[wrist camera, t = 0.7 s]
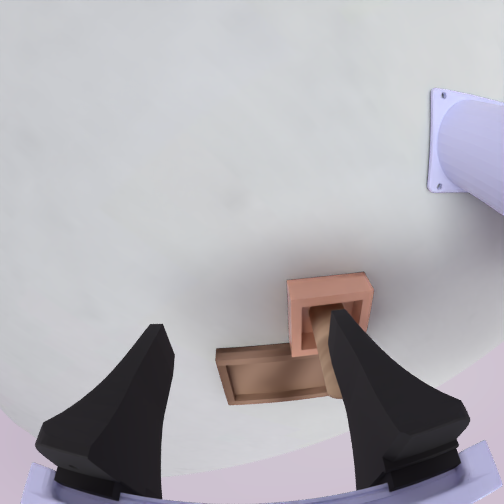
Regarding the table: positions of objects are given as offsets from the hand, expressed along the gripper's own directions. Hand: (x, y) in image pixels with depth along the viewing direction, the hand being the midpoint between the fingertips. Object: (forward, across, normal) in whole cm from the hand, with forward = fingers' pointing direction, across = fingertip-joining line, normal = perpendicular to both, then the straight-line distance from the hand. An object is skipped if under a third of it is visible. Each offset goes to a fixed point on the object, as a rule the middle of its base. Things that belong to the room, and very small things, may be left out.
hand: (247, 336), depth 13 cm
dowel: (+10, -6, +8) cm, 14 cm away
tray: (+10, -3, +16) cm, 19 cm away
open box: (+10, -6, +8) cm, 14 cm away
